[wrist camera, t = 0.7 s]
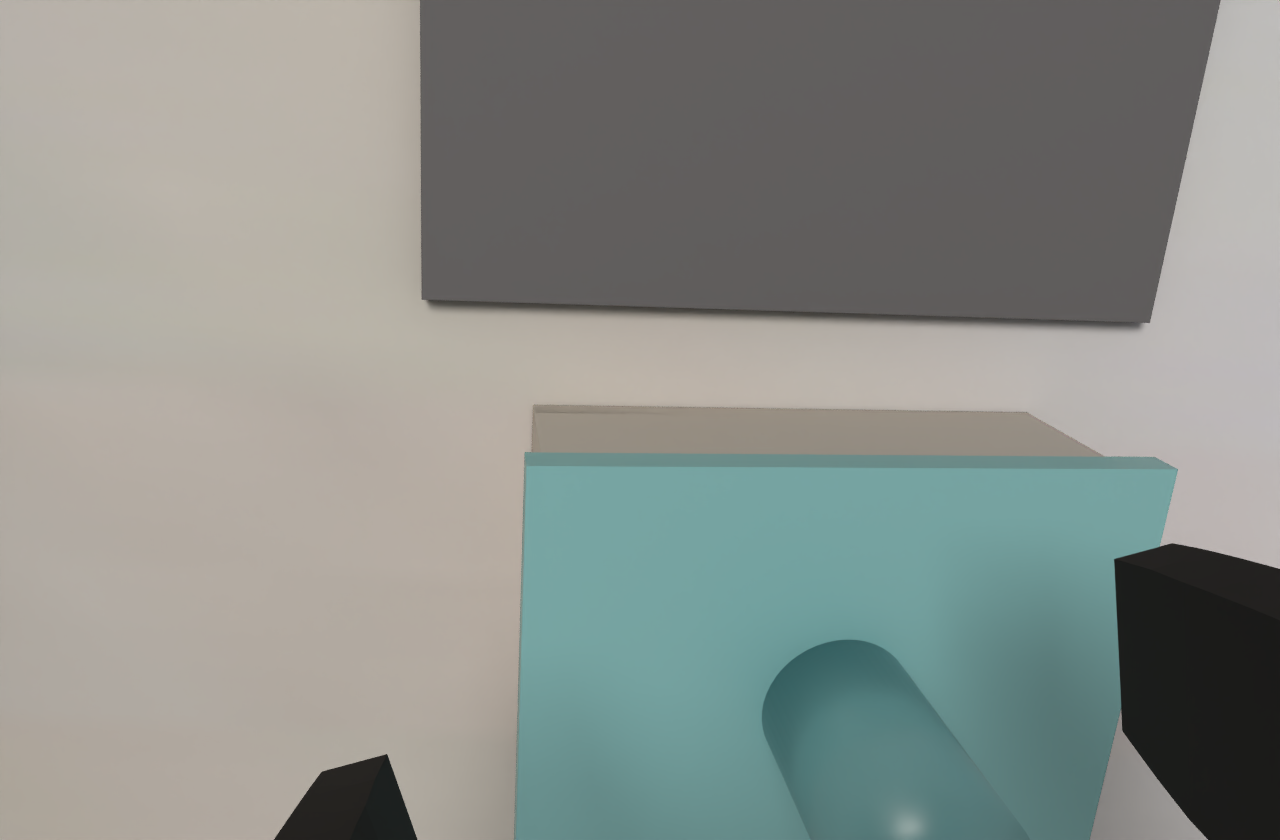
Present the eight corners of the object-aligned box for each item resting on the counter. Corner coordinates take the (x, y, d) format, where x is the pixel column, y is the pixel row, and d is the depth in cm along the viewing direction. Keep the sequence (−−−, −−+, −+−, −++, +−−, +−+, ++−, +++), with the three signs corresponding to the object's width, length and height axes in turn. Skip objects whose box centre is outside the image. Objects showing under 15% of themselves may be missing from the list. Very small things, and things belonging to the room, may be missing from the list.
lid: (1125, 441, 17) (1390, 581, 12) (1036, 842, 20) (1226, 1095, 15) (522, 435, 16) (541, 594, 11) (510, 874, 18) (521, 1172, 13)
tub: (1027, 412, 20) (1134, 473, 17) (964, 748, 22) (1047, 860, 19) (532, 405, 18) (544, 470, 15) (522, 767, 21) (529, 893, 17)
